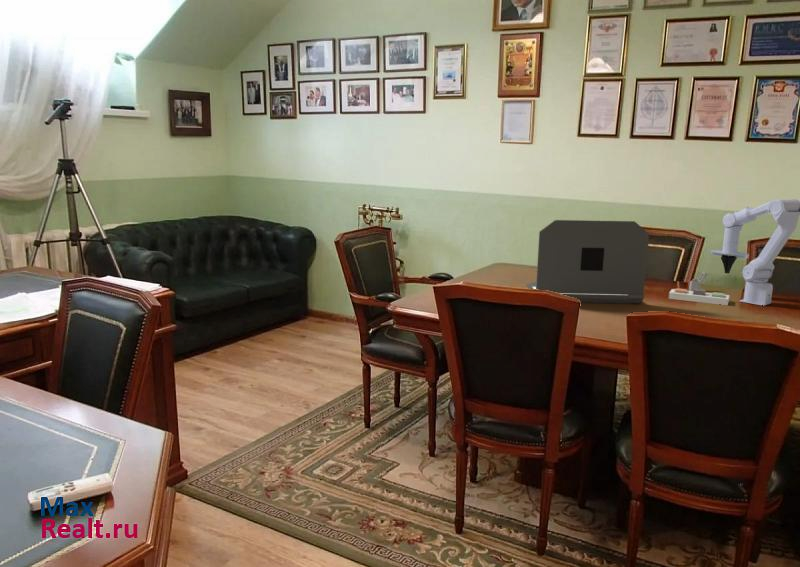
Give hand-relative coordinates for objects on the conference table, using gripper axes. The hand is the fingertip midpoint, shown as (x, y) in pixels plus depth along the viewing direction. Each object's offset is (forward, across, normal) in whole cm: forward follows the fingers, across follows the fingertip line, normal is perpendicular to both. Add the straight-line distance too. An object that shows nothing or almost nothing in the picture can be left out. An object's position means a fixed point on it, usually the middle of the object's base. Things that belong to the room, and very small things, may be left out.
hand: (727, 273), depth 265 cm
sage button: (+9, +3, -18) cm, 20 cm away
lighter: (+10, -11, -1) cm, 15 cm away
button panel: (+9, -4, -20) cm, 22 cm away
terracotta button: (+9, -11, -21) cm, 26 cm away
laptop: (+10, -44, -47) cm, 65 cm away
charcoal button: (+8, -4, -20) cm, 22 cm away
